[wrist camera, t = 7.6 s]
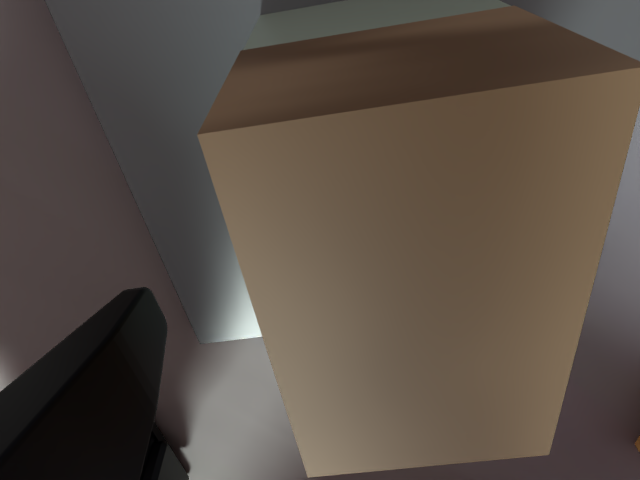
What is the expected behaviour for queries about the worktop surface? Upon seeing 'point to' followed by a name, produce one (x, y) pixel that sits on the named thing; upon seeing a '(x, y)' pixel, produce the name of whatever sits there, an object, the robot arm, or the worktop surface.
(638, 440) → the orange brick
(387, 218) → the walnut brick
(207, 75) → the baseplate
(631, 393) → the worktop surface
